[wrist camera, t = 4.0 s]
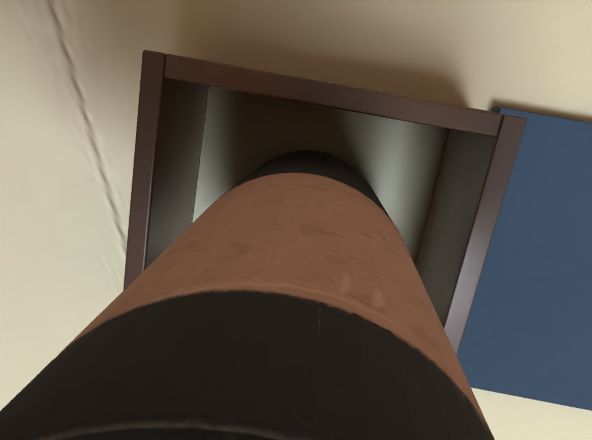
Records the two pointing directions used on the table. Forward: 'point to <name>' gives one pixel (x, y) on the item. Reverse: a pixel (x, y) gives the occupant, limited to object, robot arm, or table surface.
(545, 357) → the mat
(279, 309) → the travel mug
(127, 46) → the table surface
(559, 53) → the table surface
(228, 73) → the cube shelf
